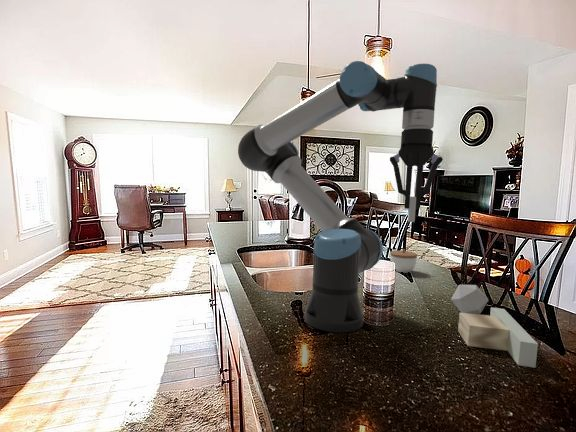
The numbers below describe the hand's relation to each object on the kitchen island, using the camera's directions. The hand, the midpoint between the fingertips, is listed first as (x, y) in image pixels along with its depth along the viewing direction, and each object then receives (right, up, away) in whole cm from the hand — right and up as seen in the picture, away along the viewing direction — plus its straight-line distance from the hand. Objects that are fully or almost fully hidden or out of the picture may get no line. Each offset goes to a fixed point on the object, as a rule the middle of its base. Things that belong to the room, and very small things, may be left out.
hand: (411, 221), depth 87 cm
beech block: (+13, -28, -9) cm, 32 cm away
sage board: (+19, -28, -10) cm, 35 cm away
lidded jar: (+16, -22, +54) cm, 61 cm away
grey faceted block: (+20, -27, +9) cm, 34 cm away
